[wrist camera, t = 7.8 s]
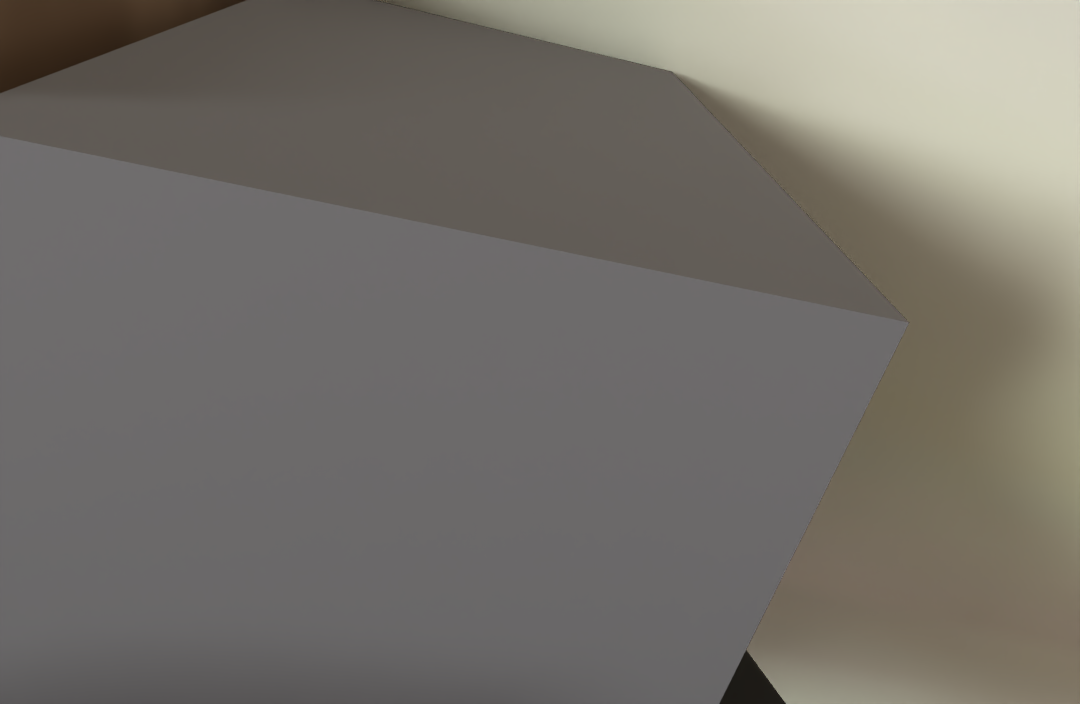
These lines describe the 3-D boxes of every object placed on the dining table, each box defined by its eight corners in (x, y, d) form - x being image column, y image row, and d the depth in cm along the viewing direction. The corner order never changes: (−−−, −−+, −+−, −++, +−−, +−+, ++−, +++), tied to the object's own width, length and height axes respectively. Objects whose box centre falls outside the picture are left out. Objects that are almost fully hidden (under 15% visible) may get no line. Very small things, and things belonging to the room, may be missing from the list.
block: (544, 500, 12) (573, 995, 6) (257, 453, 11) (30, 952, 6) (671, 72, 9) (908, 322, 4) (296, -19, 8) (-74, 120, 3)
